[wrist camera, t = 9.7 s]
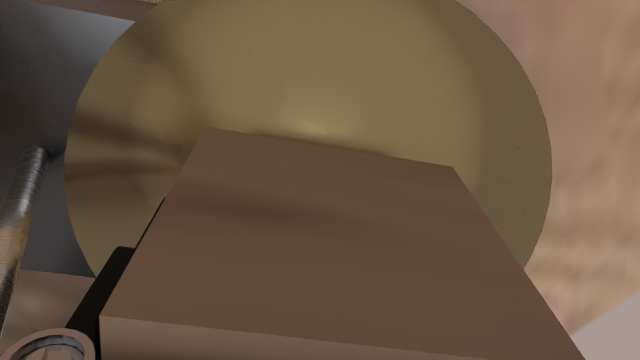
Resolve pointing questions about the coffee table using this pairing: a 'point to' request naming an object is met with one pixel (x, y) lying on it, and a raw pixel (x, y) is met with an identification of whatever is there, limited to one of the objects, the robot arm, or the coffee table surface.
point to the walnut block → (323, 264)
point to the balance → (245, 109)
